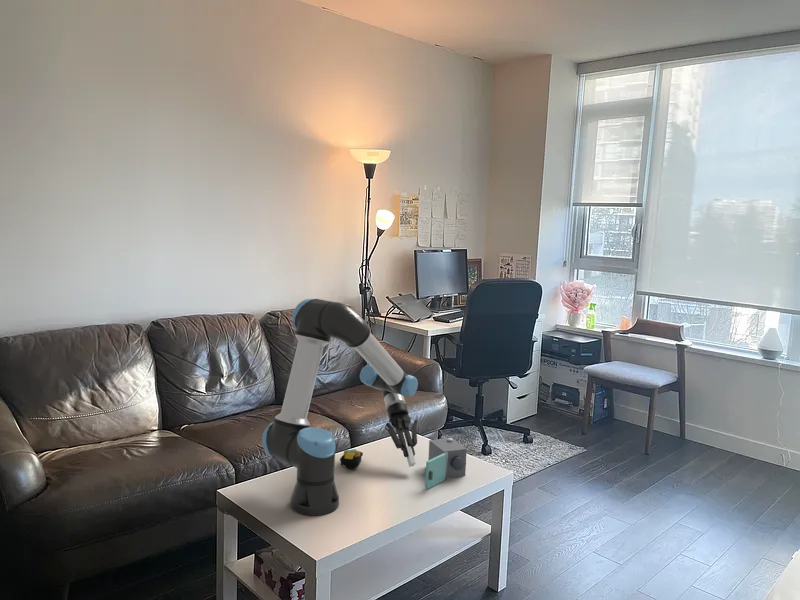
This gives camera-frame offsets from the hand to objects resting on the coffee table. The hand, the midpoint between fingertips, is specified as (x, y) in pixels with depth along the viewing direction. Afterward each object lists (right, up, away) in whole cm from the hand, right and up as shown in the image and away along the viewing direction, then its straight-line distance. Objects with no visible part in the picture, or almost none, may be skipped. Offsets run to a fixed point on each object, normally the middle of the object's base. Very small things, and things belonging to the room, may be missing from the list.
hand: (412, 464), depth 217 cm
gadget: (-22, -2, +8) cm, 24 cm away
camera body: (+13, -4, +5) cm, 14 cm away
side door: (+9, -5, -7) cm, 12 cm away
